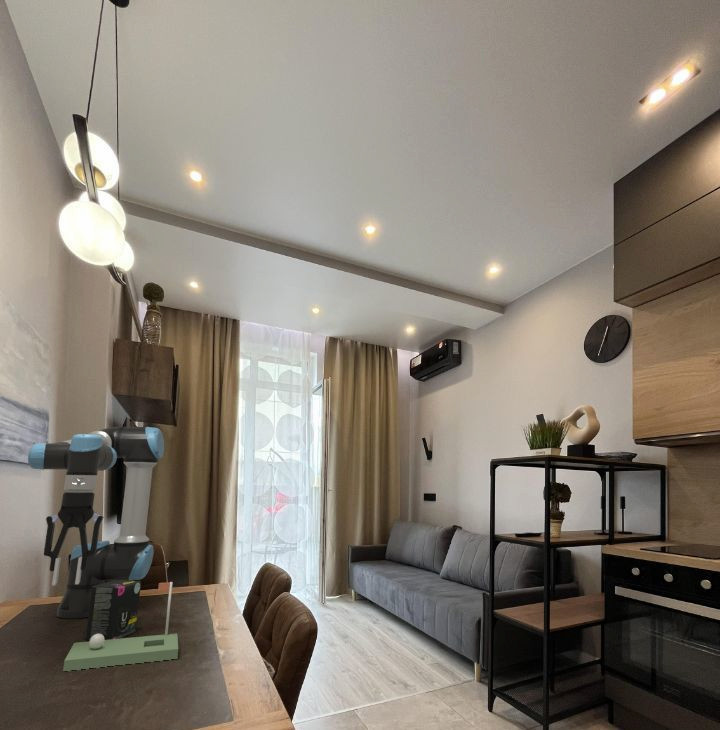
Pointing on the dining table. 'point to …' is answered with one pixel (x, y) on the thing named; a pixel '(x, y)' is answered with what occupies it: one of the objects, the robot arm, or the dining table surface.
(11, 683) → the dining table surface
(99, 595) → the tampon box
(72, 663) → the mini golf green
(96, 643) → the ball
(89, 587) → the robot arm
